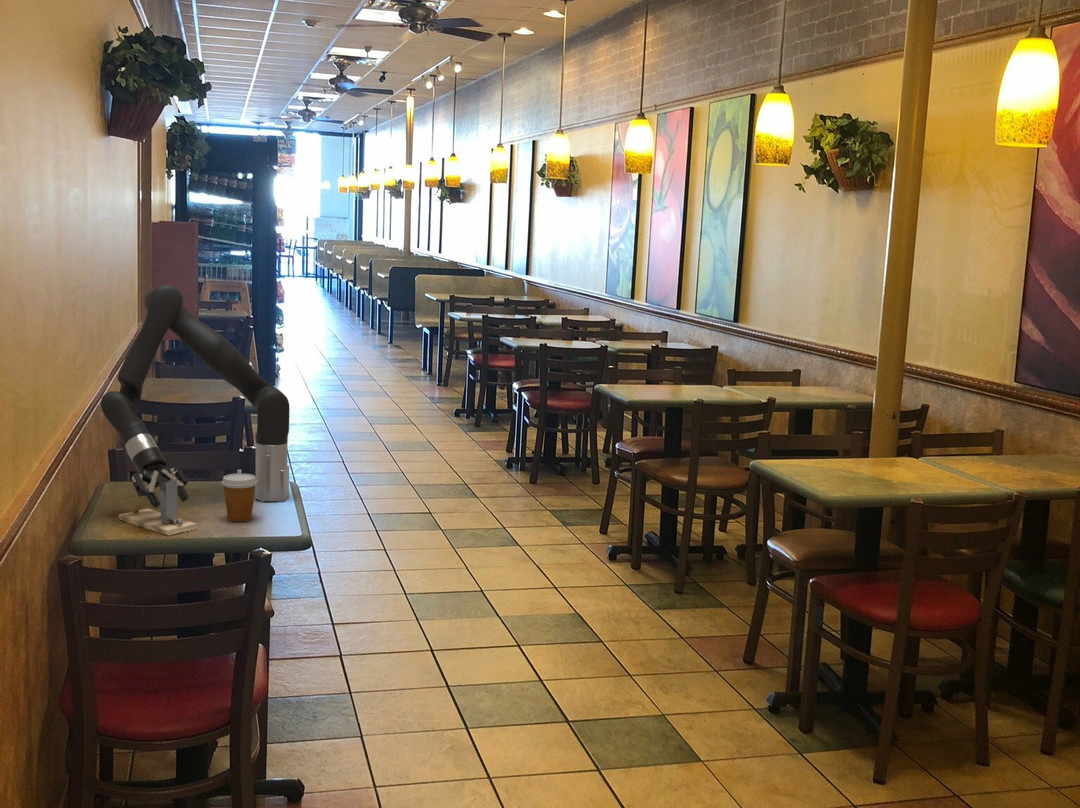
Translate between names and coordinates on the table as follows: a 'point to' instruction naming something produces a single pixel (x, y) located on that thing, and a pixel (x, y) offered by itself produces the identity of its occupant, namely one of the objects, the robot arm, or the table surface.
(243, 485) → the disposable coffee cup
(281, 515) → the table surface
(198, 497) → the table surface
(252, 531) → the table surface
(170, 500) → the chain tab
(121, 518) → the rail
